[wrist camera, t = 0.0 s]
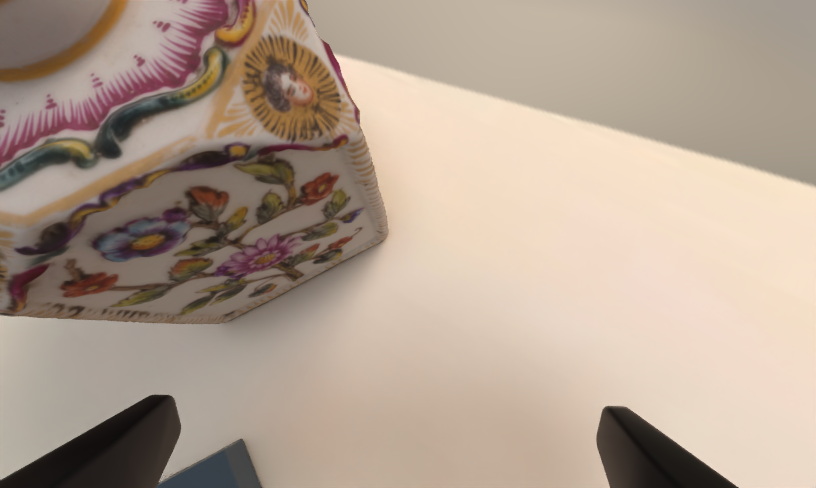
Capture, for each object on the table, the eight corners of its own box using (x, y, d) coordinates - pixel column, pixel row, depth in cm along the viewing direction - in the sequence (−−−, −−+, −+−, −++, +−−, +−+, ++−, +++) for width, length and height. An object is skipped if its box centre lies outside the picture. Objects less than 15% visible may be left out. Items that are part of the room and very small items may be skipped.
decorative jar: (220, 329, 23) (-368, 329, 6) (152, 167, 26) (-417, -182, 8) (398, 236, 24) (351, -3, 7) (318, 88, 27) (128, -377, 9)
